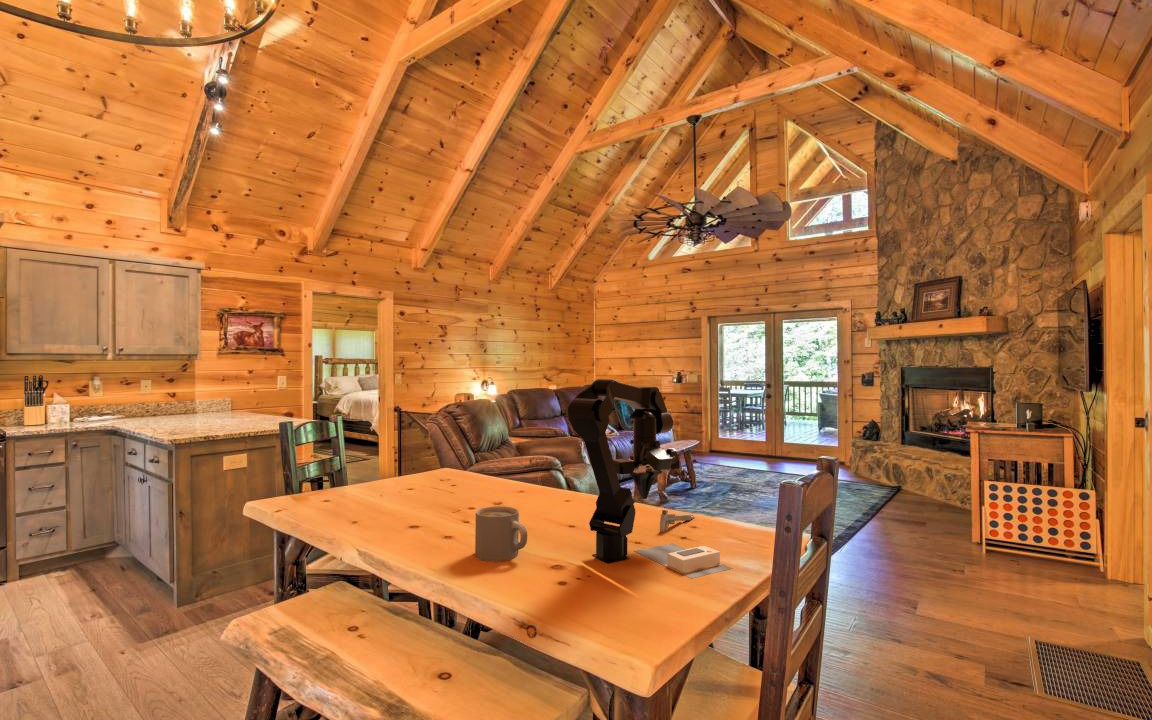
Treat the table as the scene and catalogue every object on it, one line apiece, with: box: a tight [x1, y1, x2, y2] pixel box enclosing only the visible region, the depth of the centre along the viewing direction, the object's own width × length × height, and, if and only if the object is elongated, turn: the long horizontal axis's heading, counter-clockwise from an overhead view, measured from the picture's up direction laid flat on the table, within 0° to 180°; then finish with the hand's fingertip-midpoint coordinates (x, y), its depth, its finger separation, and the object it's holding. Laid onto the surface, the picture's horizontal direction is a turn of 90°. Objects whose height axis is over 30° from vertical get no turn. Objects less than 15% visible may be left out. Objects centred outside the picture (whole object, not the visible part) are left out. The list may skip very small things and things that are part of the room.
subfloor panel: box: [633, 542, 733, 579], centre depth 128 cm, size 12×20×1 cm, turn 31°
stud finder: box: [667, 545, 721, 572], centre depth 125 cm, size 11×5×3 cm, turn 122°
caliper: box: [659, 509, 696, 533], centre depth 158 cm, size 20×1×6 cm, turn 145°
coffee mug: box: [474, 505, 528, 563], centre depth 131 cm, size 13×10×10 cm
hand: (644, 498), depth 142 cm, fingers closed
